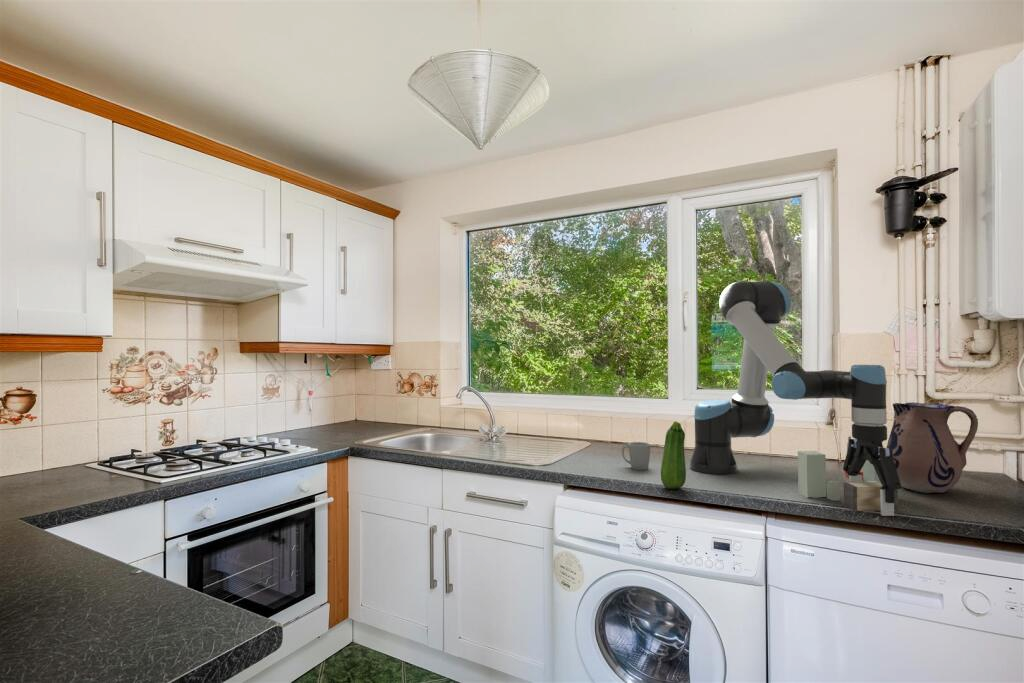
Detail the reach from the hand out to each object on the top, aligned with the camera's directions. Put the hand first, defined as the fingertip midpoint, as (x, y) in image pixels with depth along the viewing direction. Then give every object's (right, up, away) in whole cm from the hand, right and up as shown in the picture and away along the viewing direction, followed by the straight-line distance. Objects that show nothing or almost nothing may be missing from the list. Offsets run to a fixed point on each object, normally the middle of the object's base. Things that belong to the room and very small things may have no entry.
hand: (870, 507), depth 132 cm
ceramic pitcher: (+29, 0, +16) cm, 33 cm away
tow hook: (+20, -1, +32) cm, 38 cm away
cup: (-50, -1, +46) cm, 68 cm away
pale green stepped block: (-7, 0, +12) cm, 14 cm away
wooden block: (0, 0, 0) cm, 0 cm away
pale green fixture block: (+8, 0, +11) cm, 13 cm away
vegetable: (-45, -1, +20) cm, 49 cm away
